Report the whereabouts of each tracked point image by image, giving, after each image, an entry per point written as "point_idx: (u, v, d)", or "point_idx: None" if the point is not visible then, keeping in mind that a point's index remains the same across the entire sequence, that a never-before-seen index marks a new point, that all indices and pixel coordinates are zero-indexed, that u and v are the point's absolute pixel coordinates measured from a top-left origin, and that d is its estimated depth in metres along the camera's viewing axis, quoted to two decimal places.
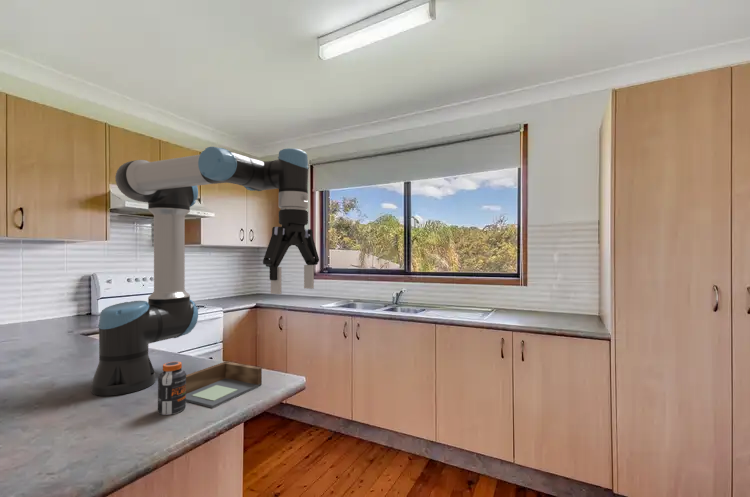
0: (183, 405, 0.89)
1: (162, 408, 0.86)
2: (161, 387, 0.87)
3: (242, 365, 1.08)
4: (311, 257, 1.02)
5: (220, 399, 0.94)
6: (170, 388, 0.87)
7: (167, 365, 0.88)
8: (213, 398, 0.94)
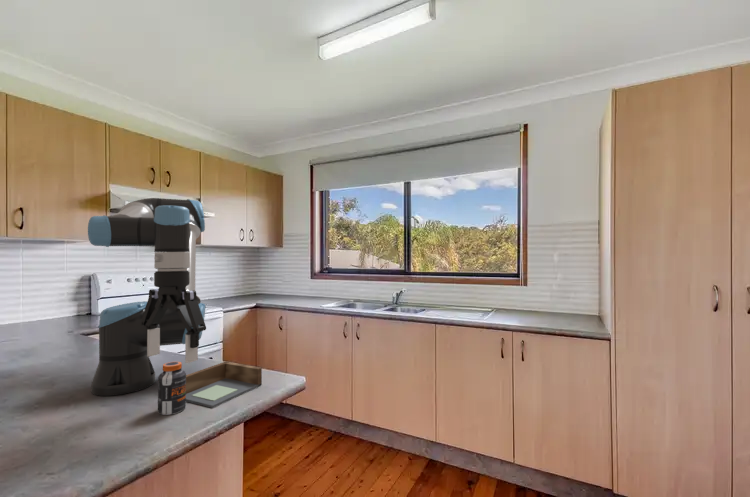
0: (183, 405, 0.89)
1: (162, 408, 0.86)
2: (161, 387, 0.87)
3: (242, 365, 1.08)
4: (185, 325, 0.85)
5: (220, 399, 0.94)
6: (170, 388, 0.87)
7: (167, 365, 0.88)
8: (213, 398, 0.94)
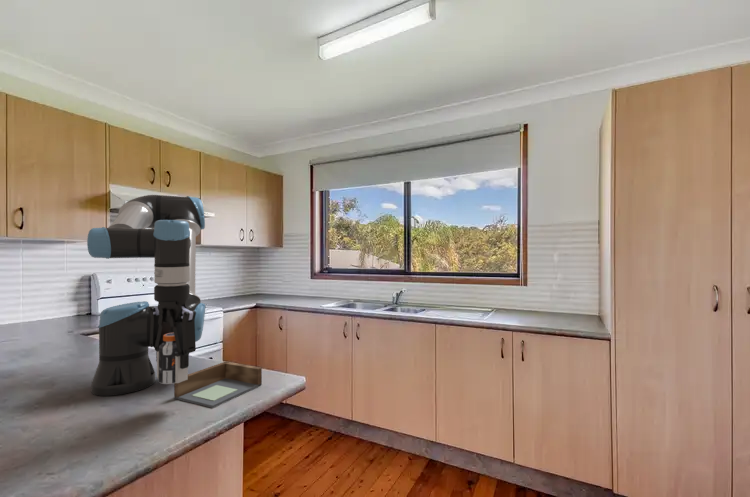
0: None
1: (163, 377, 0.87)
2: (161, 357, 0.87)
3: (242, 365, 1.08)
4: (177, 345, 0.87)
5: (220, 399, 0.94)
6: (170, 358, 0.87)
7: (167, 335, 0.88)
8: (213, 398, 0.94)
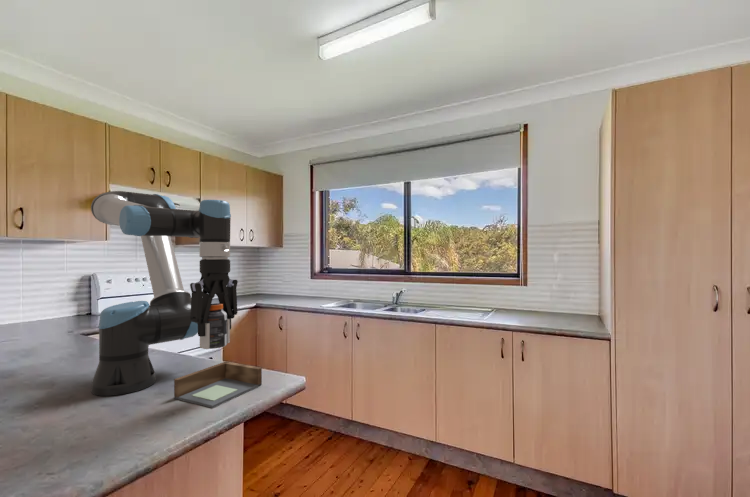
0: None
1: (225, 340, 0.98)
2: (223, 322, 0.97)
3: (242, 365, 1.08)
4: (228, 309, 1.01)
5: (220, 399, 0.94)
6: (226, 322, 1.00)
7: (219, 304, 0.98)
8: (213, 398, 0.94)
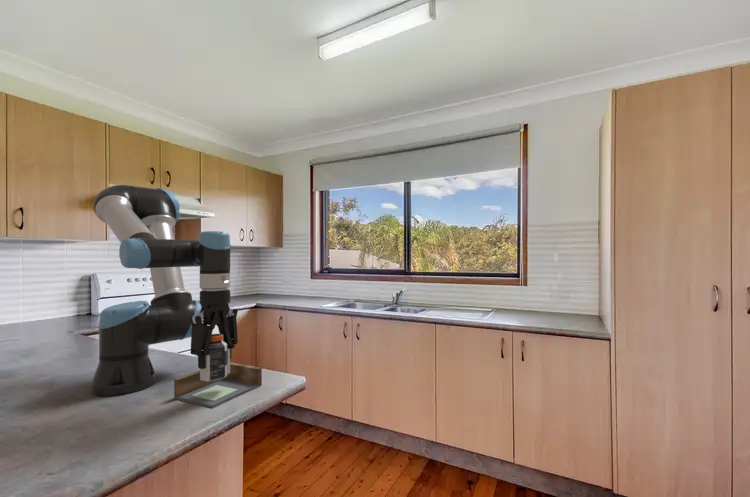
0: None
1: (225, 371, 0.98)
2: (223, 354, 0.97)
3: (242, 365, 1.08)
4: (229, 339, 1.01)
5: (220, 399, 0.94)
6: None
7: (219, 335, 0.98)
8: (213, 398, 0.94)
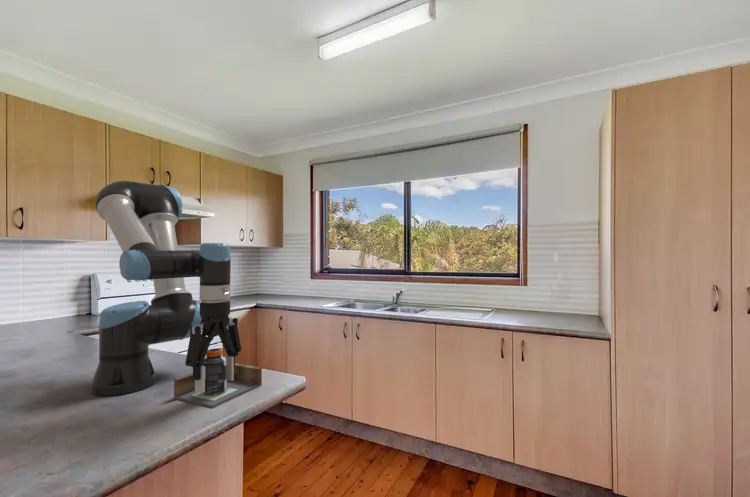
0: None
1: (225, 386, 0.98)
2: (223, 369, 0.97)
3: (242, 365, 1.08)
4: (232, 348, 1.02)
5: (220, 399, 0.94)
6: (226, 367, 1.00)
7: (218, 350, 0.98)
8: (213, 398, 0.94)
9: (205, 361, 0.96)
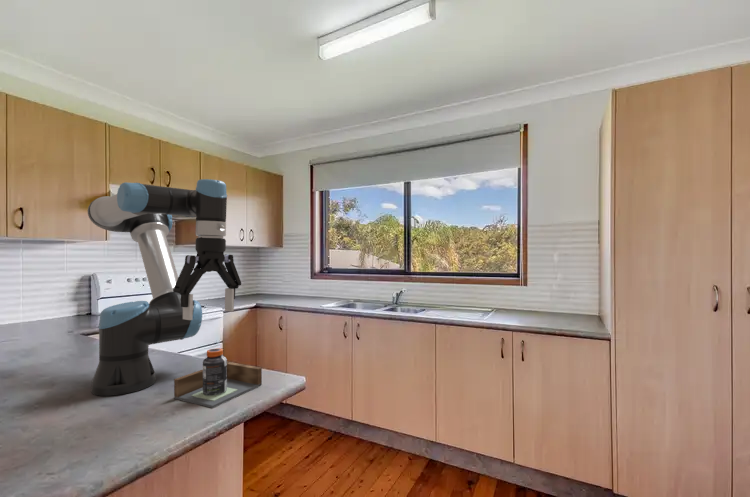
0: None
1: (225, 386, 0.98)
2: (223, 369, 0.97)
3: (242, 365, 1.08)
4: (231, 281, 1.06)
5: (220, 399, 0.94)
6: (226, 367, 1.00)
7: (219, 350, 0.98)
8: (213, 398, 0.94)
9: (205, 361, 0.96)
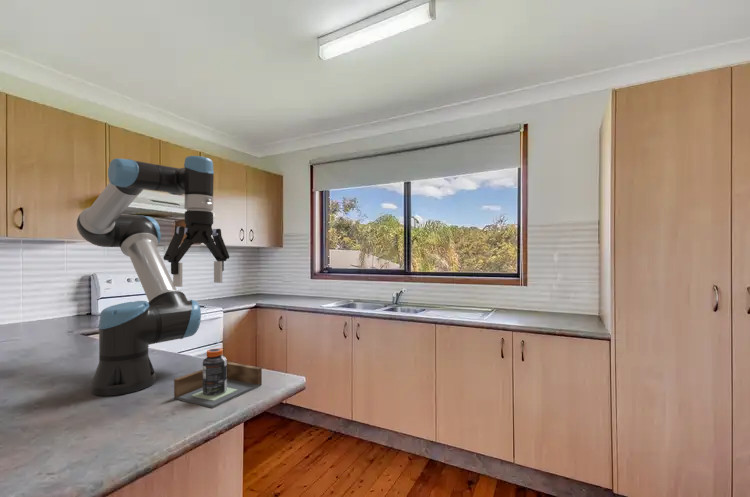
0: None
1: (225, 386, 0.98)
2: (223, 369, 0.97)
3: (242, 365, 1.08)
4: (219, 254, 1.12)
5: (220, 399, 0.94)
6: (226, 367, 1.00)
7: (219, 350, 0.98)
8: (213, 398, 0.94)
9: (205, 361, 0.96)
